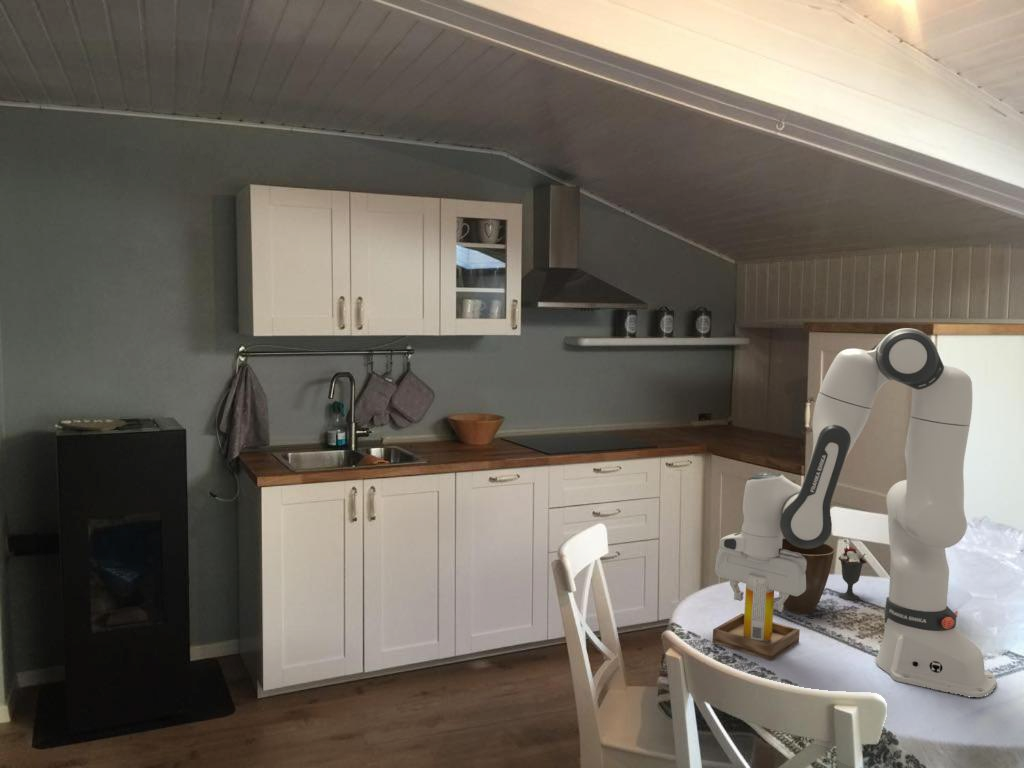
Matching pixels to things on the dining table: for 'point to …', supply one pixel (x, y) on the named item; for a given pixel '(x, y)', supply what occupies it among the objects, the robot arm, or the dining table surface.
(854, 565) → the sundae
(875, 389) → the robot arm
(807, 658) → the dining table surface
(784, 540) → the plant pot
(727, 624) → the walnut tray
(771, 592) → the beer can
